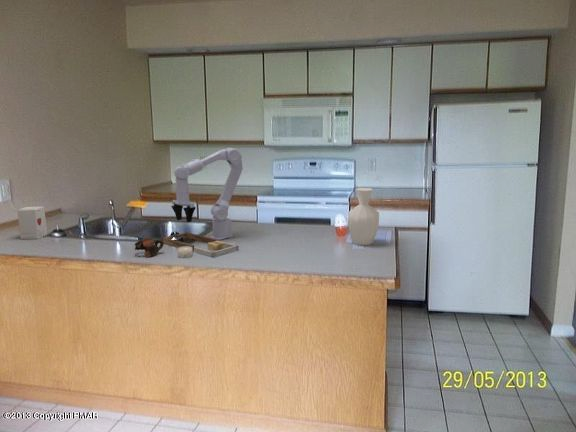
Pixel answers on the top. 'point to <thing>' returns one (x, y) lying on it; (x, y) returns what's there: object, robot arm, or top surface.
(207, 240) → the brown u-shaped frame
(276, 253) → the top surface
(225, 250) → the grey corral
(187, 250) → the cream egg-shaped dome
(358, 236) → the vase
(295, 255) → the top surface
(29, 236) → the supplement box
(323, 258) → the top surface
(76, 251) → the top surface
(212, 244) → the oak block
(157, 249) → the pottery mug
